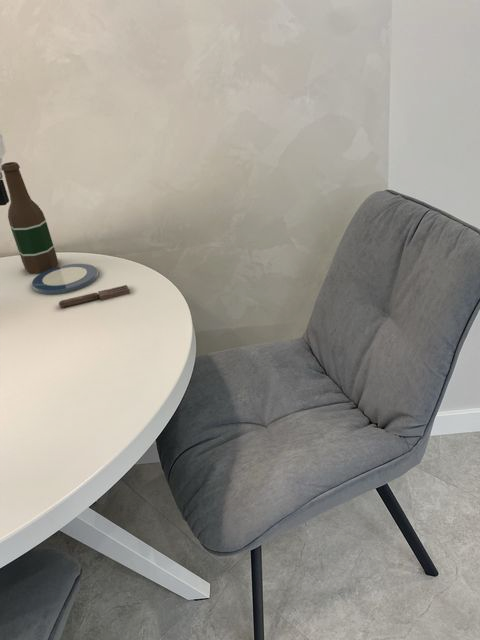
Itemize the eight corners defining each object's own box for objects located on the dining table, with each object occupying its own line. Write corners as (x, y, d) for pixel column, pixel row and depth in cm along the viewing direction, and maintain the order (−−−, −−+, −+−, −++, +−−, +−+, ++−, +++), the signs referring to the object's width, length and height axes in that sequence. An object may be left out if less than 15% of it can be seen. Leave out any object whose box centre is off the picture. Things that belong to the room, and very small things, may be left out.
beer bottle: (44, 259, 133) (12, 158, 121) (66, 263, 130) (35, 159, 117) (18, 271, 128) (-19, 167, 115) (40, 276, 124) (5, 169, 112)
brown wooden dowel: (60, 310, 109) (58, 304, 108) (59, 305, 111) (57, 299, 110) (129, 293, 113) (128, 287, 112) (127, 288, 115) (126, 282, 114)
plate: (24, 297, 115) (23, 292, 115) (44, 270, 127) (42, 266, 127) (90, 291, 115) (89, 286, 115) (103, 264, 127) (102, 260, 127)
